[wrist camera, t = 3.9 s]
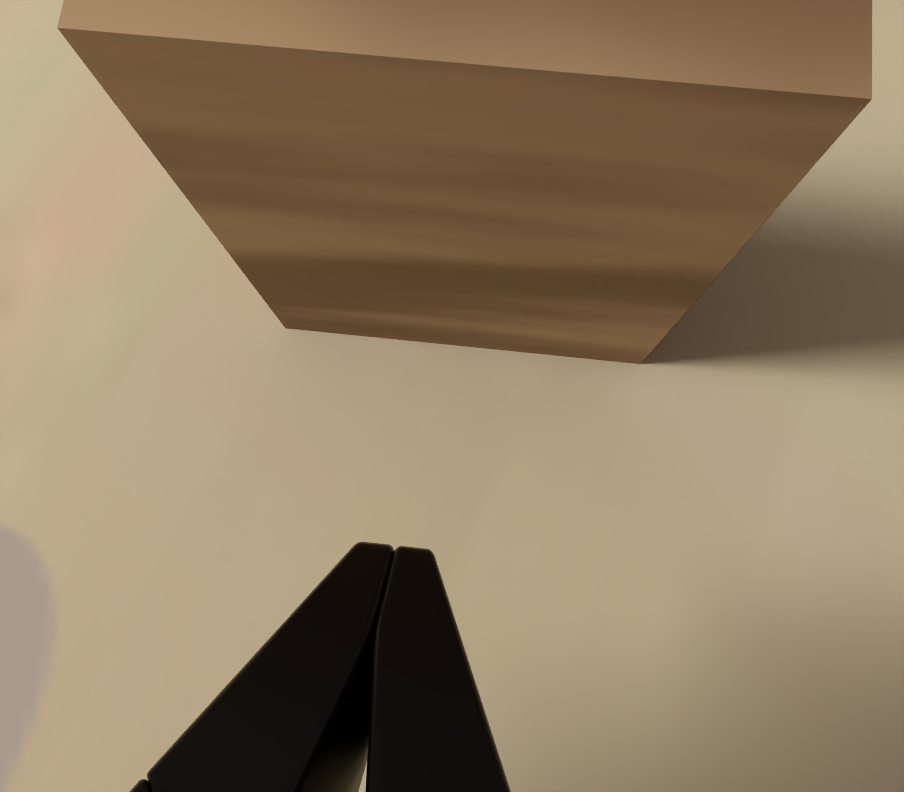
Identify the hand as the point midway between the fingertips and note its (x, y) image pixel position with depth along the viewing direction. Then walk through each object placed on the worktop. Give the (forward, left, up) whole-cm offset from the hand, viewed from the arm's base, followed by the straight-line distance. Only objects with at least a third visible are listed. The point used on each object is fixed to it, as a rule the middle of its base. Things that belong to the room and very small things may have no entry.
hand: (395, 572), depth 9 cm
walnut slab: (+7, +3, -13) cm, 15 cm away
